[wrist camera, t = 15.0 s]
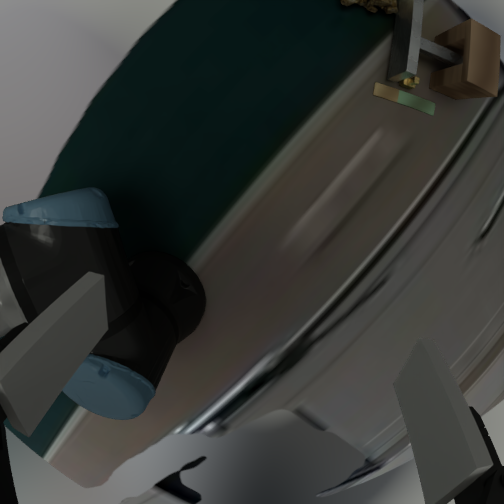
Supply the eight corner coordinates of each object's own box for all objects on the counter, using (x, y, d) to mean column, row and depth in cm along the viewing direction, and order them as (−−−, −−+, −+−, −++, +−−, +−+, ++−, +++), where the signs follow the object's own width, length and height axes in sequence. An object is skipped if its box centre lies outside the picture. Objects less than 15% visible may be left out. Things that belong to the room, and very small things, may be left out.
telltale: (398, 85, 34) (410, 81, 30) (399, 78, 34) (411, 74, 30) (409, 89, 34) (422, 86, 30) (410, 82, 33) (423, 78, 30)
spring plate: (387, 79, 33) (406, 71, 26) (397, -8, 27) (415, -27, 21) (453, 104, 33) (479, 103, 26) (461, 20, 27) (485, 8, 21)
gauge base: (373, 94, 35) (399, 85, 26) (384, 17, 31) (410, -10, 21) (451, 123, 35) (492, 126, 25) (461, 49, 30) (500, 35, 20)
